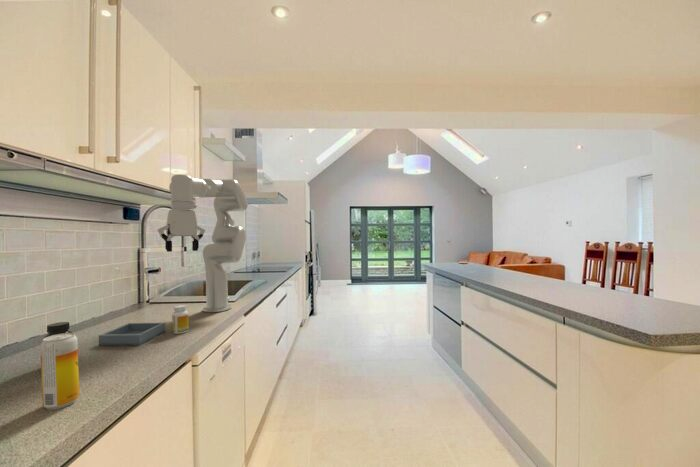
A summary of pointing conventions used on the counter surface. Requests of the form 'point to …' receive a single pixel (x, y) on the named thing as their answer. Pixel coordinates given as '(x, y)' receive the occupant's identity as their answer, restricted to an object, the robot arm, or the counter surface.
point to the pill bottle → (59, 370)
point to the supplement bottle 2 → (180, 319)
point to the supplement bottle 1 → (57, 329)
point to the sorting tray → (131, 334)
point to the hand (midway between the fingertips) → (182, 251)
